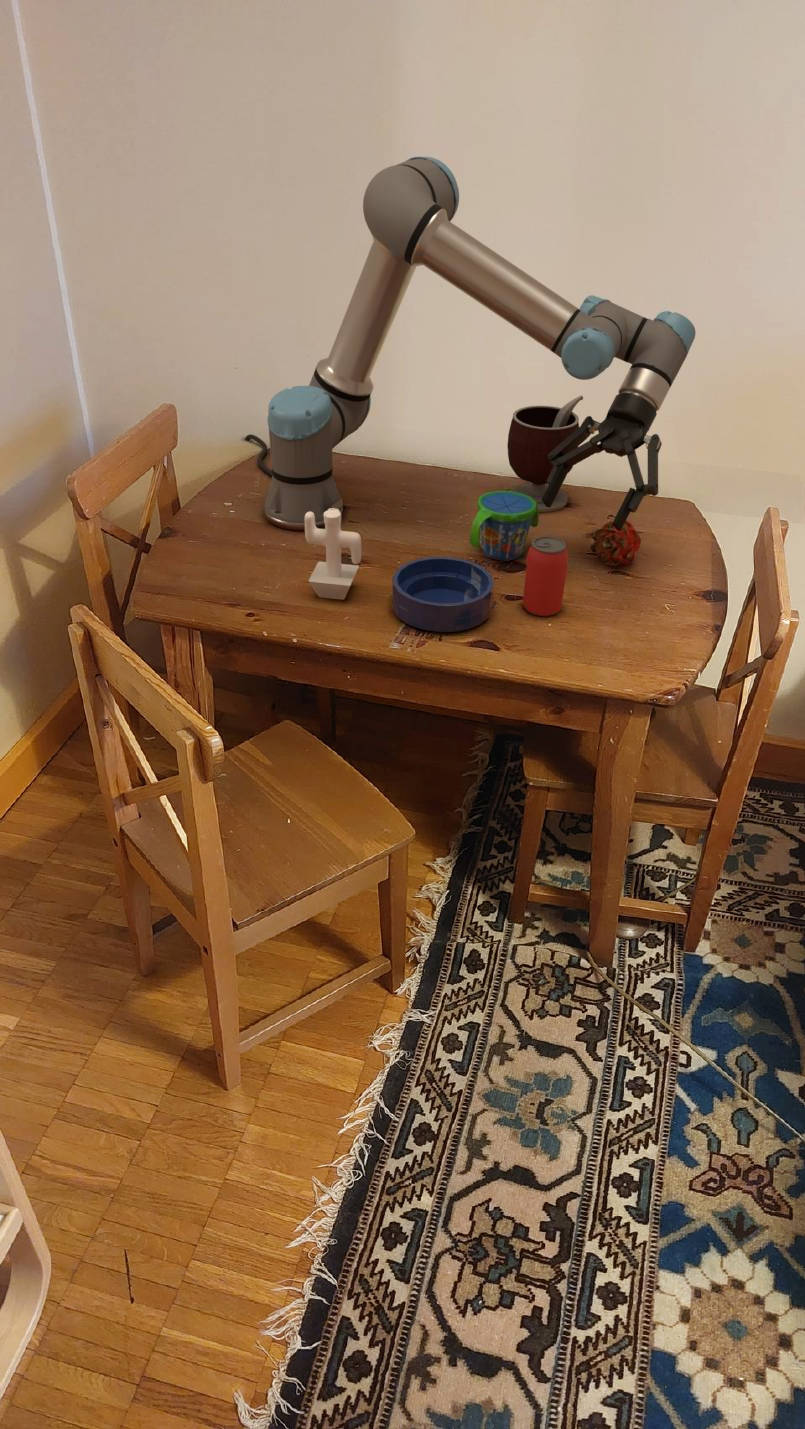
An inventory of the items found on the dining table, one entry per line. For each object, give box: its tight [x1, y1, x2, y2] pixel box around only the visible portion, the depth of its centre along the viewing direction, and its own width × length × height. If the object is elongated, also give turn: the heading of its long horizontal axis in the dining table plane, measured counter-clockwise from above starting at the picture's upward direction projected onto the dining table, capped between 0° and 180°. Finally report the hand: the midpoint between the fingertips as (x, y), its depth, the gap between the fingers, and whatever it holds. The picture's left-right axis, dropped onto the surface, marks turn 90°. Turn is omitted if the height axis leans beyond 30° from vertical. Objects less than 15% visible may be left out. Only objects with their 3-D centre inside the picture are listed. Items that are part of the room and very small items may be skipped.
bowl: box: [391, 556, 495, 633], centre depth 168 cm, size 17×17×6 cm
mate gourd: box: [507, 395, 584, 513], centre depth 200 cm, size 16×14×20 cm
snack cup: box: [468, 490, 540, 562], centre depth 183 cm, size 16×10×10 cm
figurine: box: [304, 508, 362, 601], centre depth 169 cm, size 7×9×15 cm
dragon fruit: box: [589, 520, 642, 567], centre depth 183 cm, size 8×8×12 cm
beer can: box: [522, 535, 569, 617], centre depth 167 cm, size 7×7×12 cm
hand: (580, 515), depth 168 cm, fingers open, 13 cm apart
